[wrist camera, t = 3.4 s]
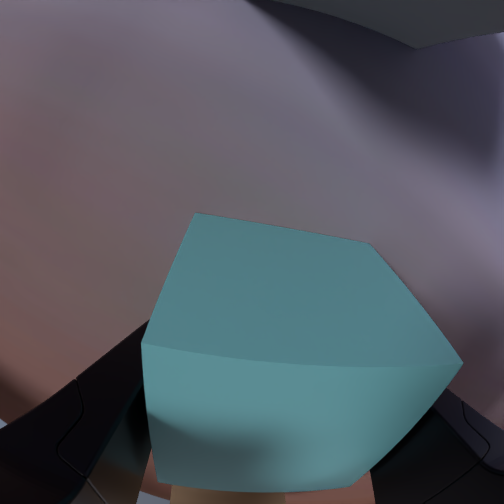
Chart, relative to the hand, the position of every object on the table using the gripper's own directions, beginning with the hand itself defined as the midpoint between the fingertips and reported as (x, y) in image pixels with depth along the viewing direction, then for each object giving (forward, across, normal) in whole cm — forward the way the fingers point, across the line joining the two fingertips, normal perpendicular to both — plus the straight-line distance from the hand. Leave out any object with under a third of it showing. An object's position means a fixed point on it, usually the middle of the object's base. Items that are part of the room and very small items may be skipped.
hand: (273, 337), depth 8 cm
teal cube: (+2, 0, 0) cm, 2 cm away
